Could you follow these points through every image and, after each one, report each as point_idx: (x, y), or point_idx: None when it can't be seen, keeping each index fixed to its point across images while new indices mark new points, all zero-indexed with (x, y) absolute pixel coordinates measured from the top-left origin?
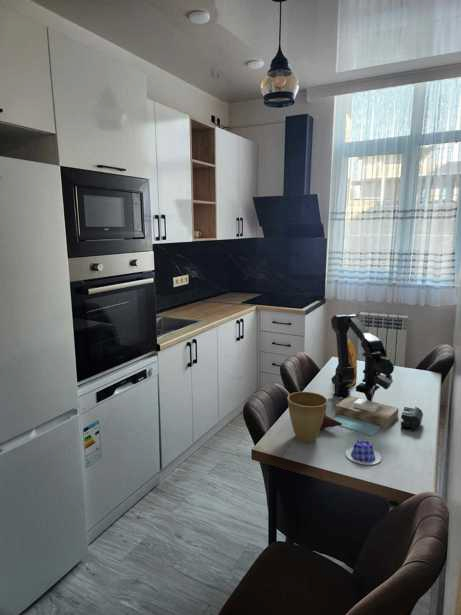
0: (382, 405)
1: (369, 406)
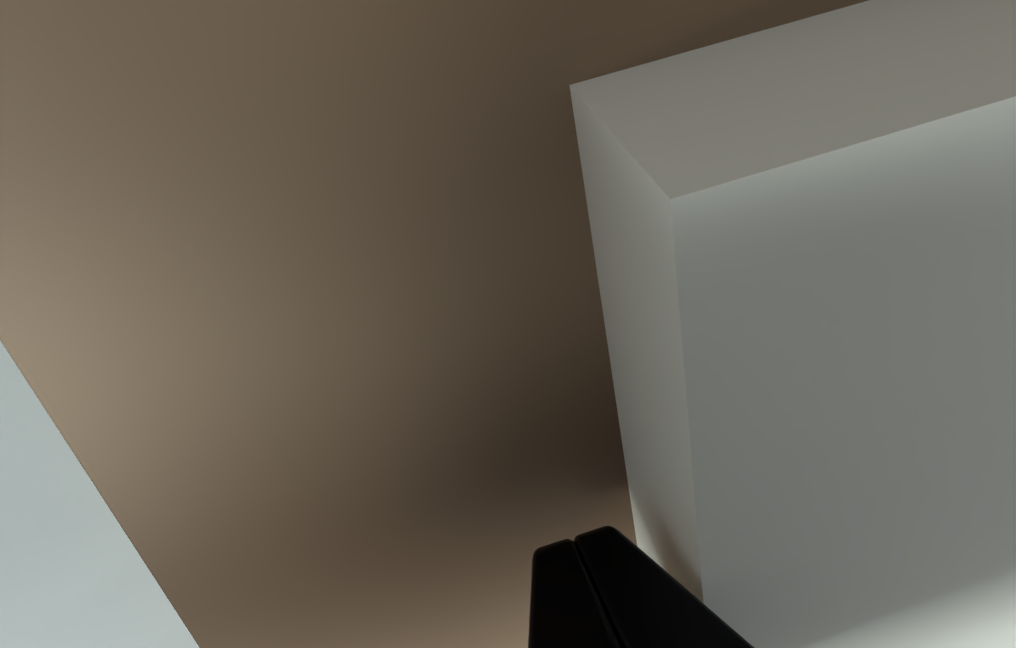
0: (156, 167)
1: None
